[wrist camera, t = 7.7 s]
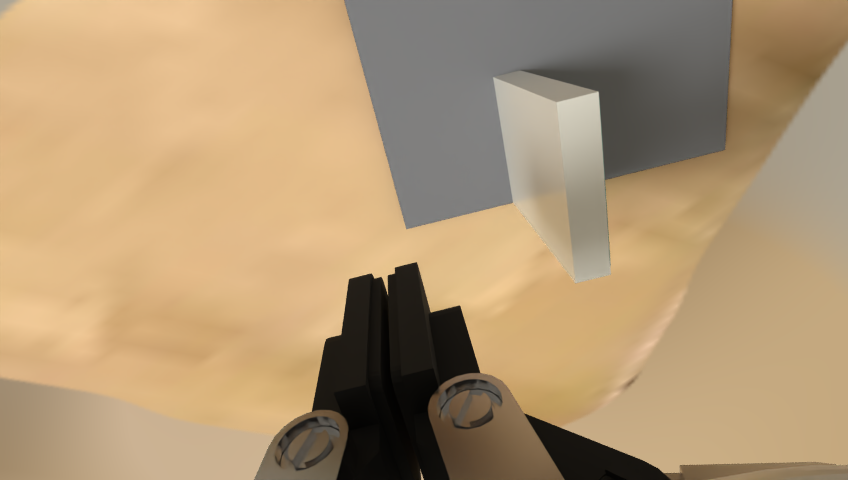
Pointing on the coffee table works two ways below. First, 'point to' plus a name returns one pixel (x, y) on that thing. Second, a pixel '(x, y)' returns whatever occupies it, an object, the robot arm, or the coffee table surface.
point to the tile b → (557, 167)
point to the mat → (545, 56)
